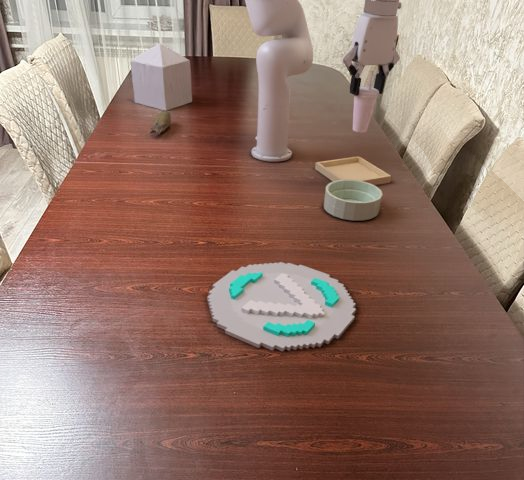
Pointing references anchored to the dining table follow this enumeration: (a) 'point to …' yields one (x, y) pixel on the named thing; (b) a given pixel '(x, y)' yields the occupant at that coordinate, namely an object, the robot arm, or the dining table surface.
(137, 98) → the decorative block
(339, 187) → the bowl
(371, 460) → the dining table surface
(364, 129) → the smoothie
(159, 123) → the decorative bird model
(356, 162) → the tray
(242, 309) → the grey pixelated disc
